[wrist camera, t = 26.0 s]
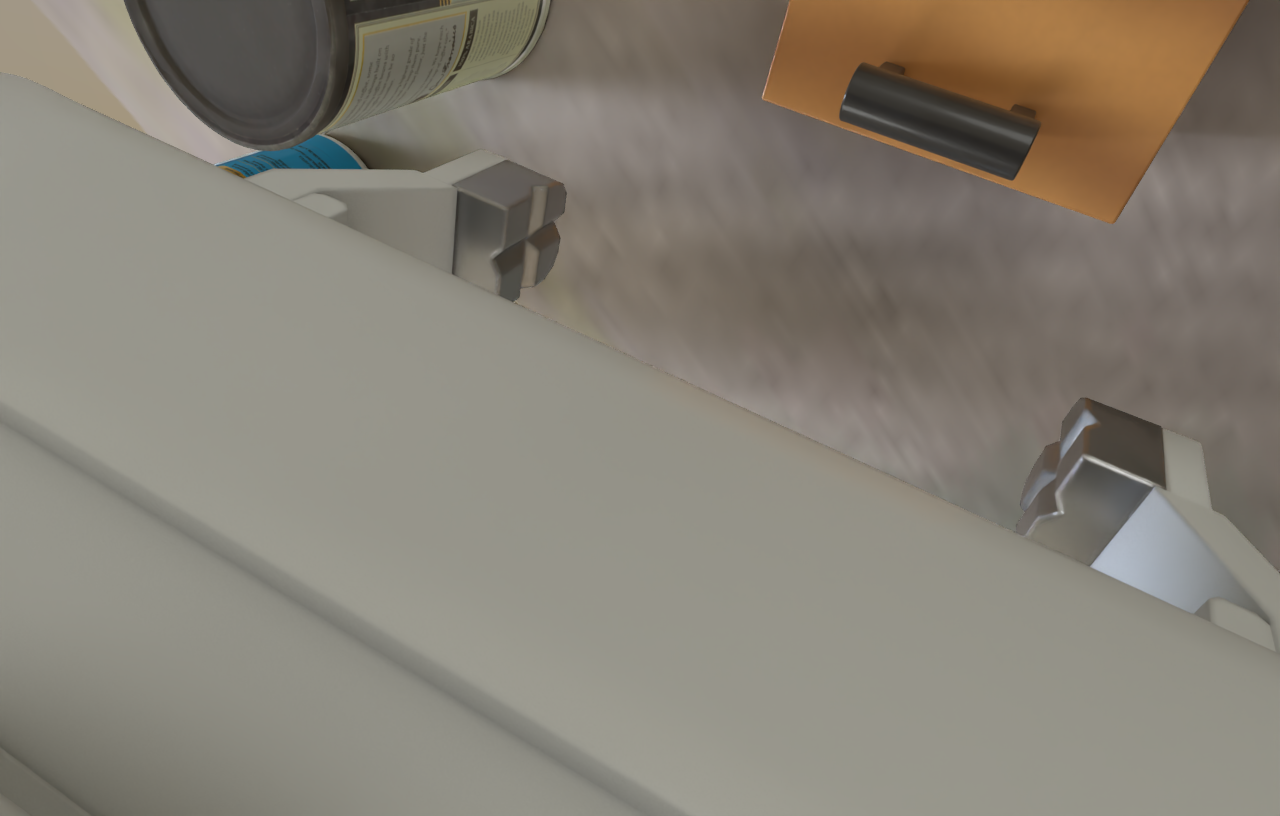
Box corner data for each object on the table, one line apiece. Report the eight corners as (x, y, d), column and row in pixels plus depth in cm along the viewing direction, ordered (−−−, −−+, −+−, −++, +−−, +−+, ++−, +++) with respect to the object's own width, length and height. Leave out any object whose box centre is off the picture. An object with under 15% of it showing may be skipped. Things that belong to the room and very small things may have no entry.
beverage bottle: (404, 274, 51) (102, 443, 36) (302, 253, 54) (-14, 400, 39) (379, 135, 46) (21, 260, 31) (269, 121, 50) (-103, 228, 35)
